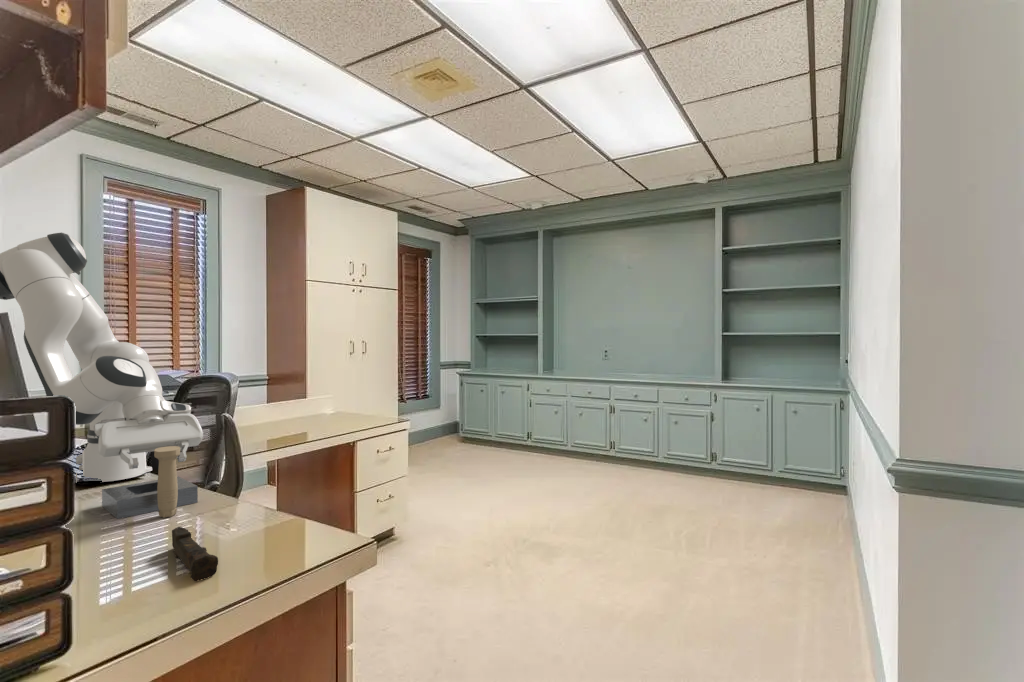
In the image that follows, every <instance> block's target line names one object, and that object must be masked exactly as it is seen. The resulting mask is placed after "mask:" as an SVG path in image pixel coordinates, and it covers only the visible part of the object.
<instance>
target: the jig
mask: <svg viewBox="0 0 1024 682" xmlns="http://www.w3.org/2000/svg"><path fill="white" fill-rule="evenodd" d="M177 484H178V488H177V489H178V491H177V492H178V497H177V498H178V499H177V507H176V508H178V507H181V506H186V505H191V504H197V503H198V500H199V499H198V497H199V496H198V491H199V489H198V488H199V487H198V485H197V484H195V483H192V482H191V481H188V480H187V479H185V478H182V477H180V476H178V475H177ZM157 486H158V479H156V480H155V479H154V480H149V481H143V482H136V483H131V484H127V485H119V486H113V487H108V488H102V489H101V506H102V508H104V509H105V510H106V511H107V512H109V513H110V514H111V515H112V517H114V518H116V520H118V519H119V520H120V519H125V518H128V517H133V516H139V515H142V514H148V513H153V512H159V511H160V510H159V508H158V499H157Z"/></svg>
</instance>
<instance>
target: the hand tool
mask: <svg viewBox="0 0 1024 682" xmlns="http://www.w3.org/2000/svg"><path fill="white" fill-rule="evenodd" d="M171 539H172V541H171V542H172V545H171V546H172V548H173V554H174V557H175V559H180V562H181V563H183V564H184V566H185V567H186V569H188V570H189V571H190V578H191V580H192V581H194V582H198V581H197V580H199V581H202V580H201V579H203V580H205V579H204V578H207V579H209V578H211V577H213V576H215V574H216V573H217V570H218V565H219V557H218V556H216V555H214V554H210V553H208V550H207V548H206V547H203V546H201V545H199V543H197V541H195V540H194V539H193V538H192V532H191V531H189V530H188V529H187V528H185V527H182V526H177V527H175V528H173V529H172V530H171ZM178 557H179V558H178ZM208 577H209V578H208Z"/></svg>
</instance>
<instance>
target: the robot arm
mask: <svg viewBox="0 0 1024 682" xmlns="http://www.w3.org/2000/svg"><path fill="white" fill-rule="evenodd" d="M87 263H88V260H87V255H86V251H85V250H84V247H83V246H82V245H81V244H80V242H79V241H77V240H76V239H75V238H73V236H72V237H71V236H70V235H69V234H68V233H65V232H55V233H50V234H47V235H46V236H44V237H40V238H35V239H32V240H29V241H25V242H22V243H20V244H17V245H16V246H15V247H12V248H9V249H7V250H5V251H3V252H1V253H0V300H4V301H7V300H12V299H15V300H16V302H17V303H18V305H19V306H20V309H21V313H22V316H23V322H24V323H23V324H24V330H23V331H24V333H23V342H24V344H25V347H26V350H27V352H28V353H27V354H28V355H29V356H30V360H31V361H32V364H33V367H34V368H35V370H36V373H37V375H38V377H39V380H40V382H41V384H42V387H43V389H44V391H45V396H53V395H65V396H68V397H70V398H71V399H72V400H73V401H74V402H75V406H76V425H77V426H78V425H80V426H81V425H87V424H88V425H89V429H87V435H86V437H87V445H86V447H85V448H84V450H83V451H82V454H79V455H77V456H76V457H75V463H76V464H75V465H78V469H79V470H83V476H85V477H91V478H98V479H101V480H102V482H101V483H104V482H114V481H121V480H125V479H126V480H128V479H131V478H136V477H139V476H141V475H143V474H145V473H148V472H151V471H153V467H152V466H150V465H149V466H148V465H147V455H146V454H147V453H151V452H154V450H155V449H157V448H160V447H168V446H178V447H180V455H179V456H177V457H176V460H177V462H178V463H183V462H186V461H187V457H188V456H187V451H188V448H190V447H191V448H192V447H196V446H199V445H200V444H201V442H202V440H203V439H204V438H203V437H204V432H203V428H202V426H201V423H200V421H199V420H198V418H197V416H195V415H194V414H192V407H191V405H189V404H186V403H179V402H174V401H169V400H166V399H165V397H164V396H163V387H162V383H161V381H160V377H159V376H158V373H157V371H156V370H155V368H154V367H153V366H152V364H151V363H150V358H149V355H148V353H147V352H146V351H145V349H143V348H142V347H140V346H138V345H136V344H134V343H130V342H127V341H124V342H123V341H122V342H120V341H119V340H118V339H117V338H116V337H115V335H114V333H113V331H112V328H111V326H110V323H109V318H108V316H107V314H106V313H105V312H104V310H103V309H102V308H101V306H100V305H99V304H98V303H97V301H96V300H95V298H94V297H93V296H92V295H91V294H90V292H89V291H88V290H87V289H86V287H85V286H84V285H83V284H82V283H81V281H79V279H78V278H76V276H74V275H73V274H77V275H78V276H80V275H81V271H82V270H84V269H85V267H86V265H87ZM66 341H67V343H68V345H69V347H70V349H71V351H72V353H73V354H74V356H75V359H77V361H78V365H79V367H80V369H81V371H80V372H78V373H77V374H76V375H74V376H73V374H72V371H71V369H70V367H69V365H68V362H67V360H66V357H65V355H64V346H65V343H66ZM76 425H75V426H76ZM76 484H77V473H76Z"/></svg>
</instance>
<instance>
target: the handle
mask: <svg viewBox="0 0 1024 682" xmlns="http://www.w3.org/2000/svg"><path fill="white" fill-rule="evenodd" d="M180 452H181V450H180V447H178V446H168V447H160V448H157V449H155V450H154V451H153V453H154V455H153V456H154V459H155V458H156V459H157V460H158V471H157V472H158V474H157V475H158V476H157V480H158V486H157V499H158V508H159V510H158V516H159V517H160V518H163V519H164V518H171V517H173V516H175V515H176V514H177V510H178V507H177V499H178V498H177V497H178V492H177V491H178V489H177V488H178V484H177V477H178V471H177V470H178V469H177V456H179V455H180Z"/></svg>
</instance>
